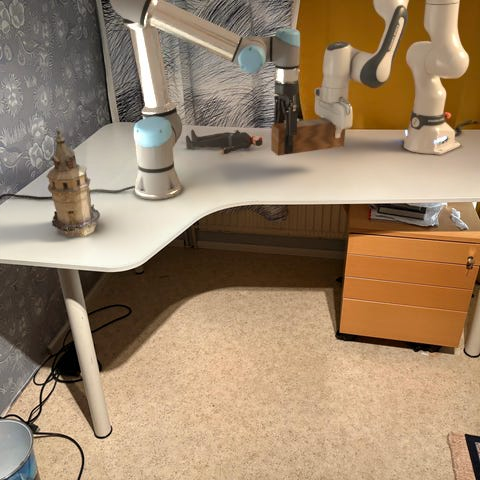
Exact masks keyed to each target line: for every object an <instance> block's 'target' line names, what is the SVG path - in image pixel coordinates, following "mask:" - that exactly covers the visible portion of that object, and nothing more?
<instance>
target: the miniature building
mask: <svg viewBox="0 0 480 480" xmlns="http://www.w3.org/2000/svg"><path fill="white" fill-rule="evenodd" d="M56 134H57V136H56V138H55V140H54V141H55V142H56V147H55V154H54V156H52V157H51V161H52V162H53V165H54V167H53V168H51V169H50V170H49V171H48V173H47V174H46V178H47V179H48V182H49V184H48V186H47V190H48V191H49V193H50V194H51V196H52V199H51V200H52V201H53V205H54V209H55V211H53V217H52V220H51V223H52V225H51V227H54V228H56V229H58V230H59V231H60V234H63V235H64V234H65V235H66V236H69V237H77V236H80V237H83V236H87V235H88V234H90V233H93V232H94V231H95V229H96V226H97V225H98V223H99V220H100V216H101V213H100V212H99V210H98V209H96V208H95V204H92V201H91V200H92V199H91V198H92V197H91V193H92V192H91V191H90V190H91V188H90V184H91V178H89V177H88V174H87V167H85V166H84V165H83V166H82V165H80V164H77V160H76V154H75V151H74V150H70V149H69V147H68V145H67V143H66V138H65V137H64V136H63V135H61V130H60V129H56Z"/></svg>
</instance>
